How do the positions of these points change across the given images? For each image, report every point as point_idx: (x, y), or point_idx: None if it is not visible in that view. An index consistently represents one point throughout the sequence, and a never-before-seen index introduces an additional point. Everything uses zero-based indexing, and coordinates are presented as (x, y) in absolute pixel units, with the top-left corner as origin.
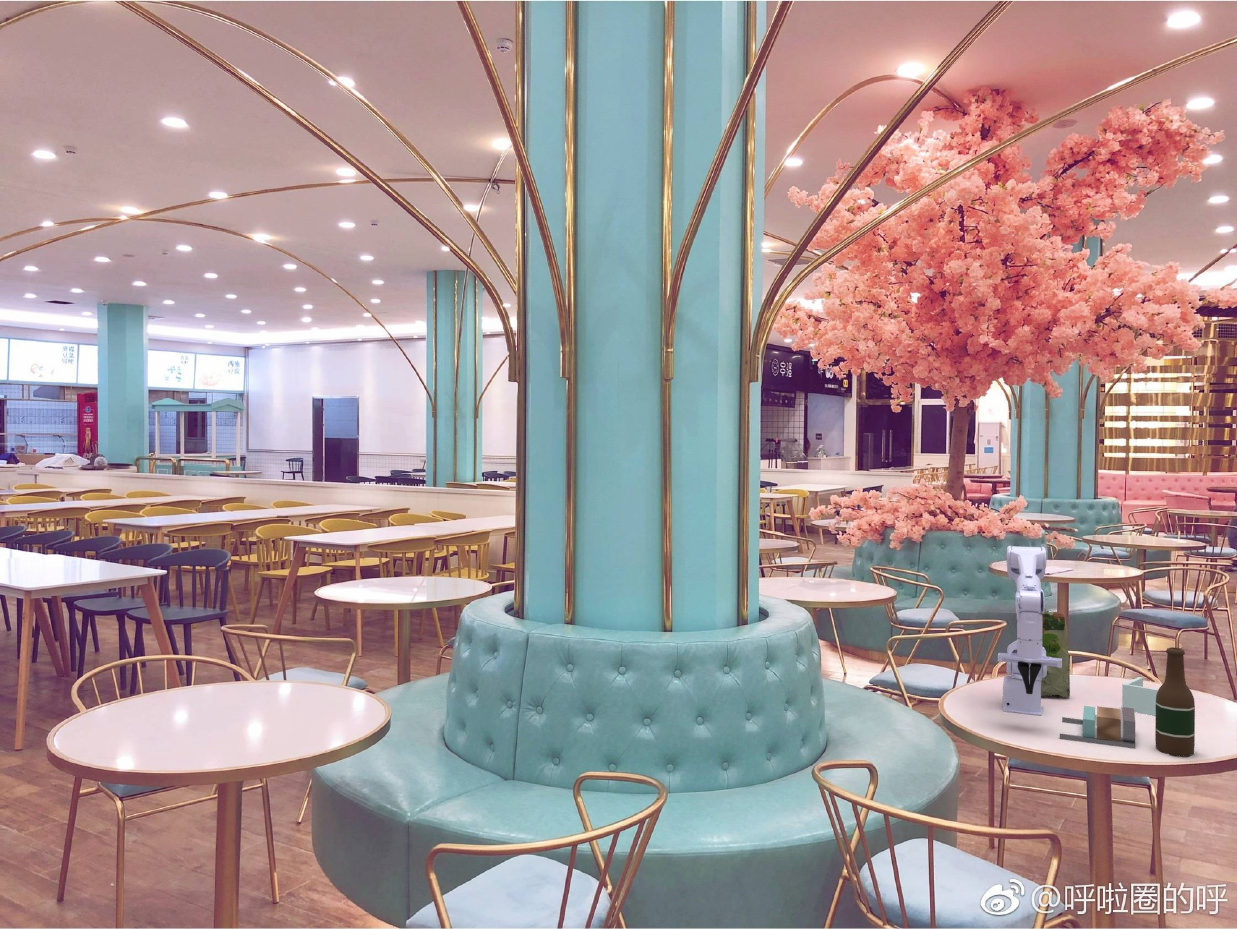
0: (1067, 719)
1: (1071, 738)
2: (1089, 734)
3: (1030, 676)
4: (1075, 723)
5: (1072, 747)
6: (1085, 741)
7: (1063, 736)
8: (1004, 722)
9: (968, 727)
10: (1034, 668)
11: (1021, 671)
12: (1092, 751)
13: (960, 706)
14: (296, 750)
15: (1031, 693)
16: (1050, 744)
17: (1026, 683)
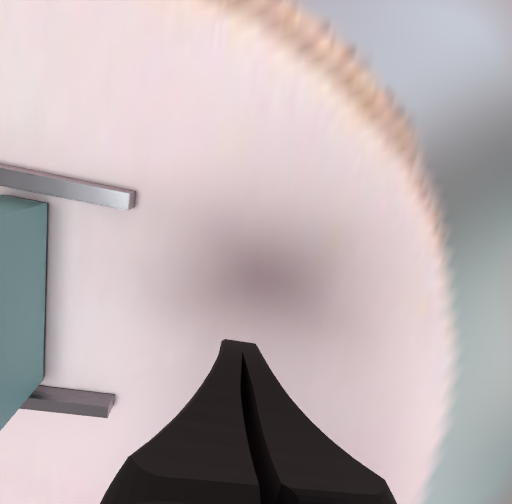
0: (91, 402)
1: (87, 183)
2: (4, 201)
3: (237, 420)
4: (70, 392)
5: (91, 89)
6: (35, 172)
7: (116, 190)
8: (301, 348)
9: (437, 257)
10: (189, 489)
11: (340, 458)
12: (10, 47)
13: (400, 466)
14: None
15: (226, 341)
16: (176, 111)
17: (264, 381)
